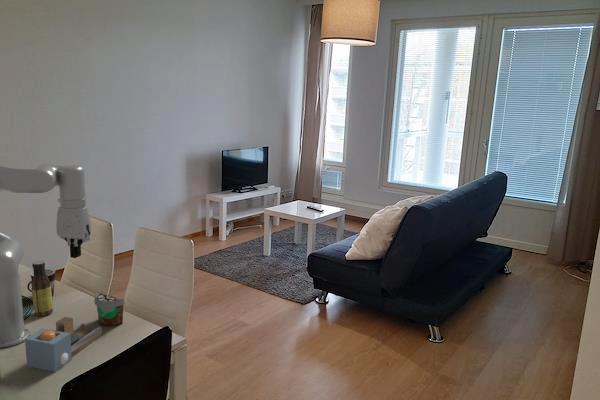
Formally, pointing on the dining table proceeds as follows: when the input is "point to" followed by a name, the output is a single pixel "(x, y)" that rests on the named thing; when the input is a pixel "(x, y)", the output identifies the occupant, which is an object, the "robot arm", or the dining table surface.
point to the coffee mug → (50, 276)
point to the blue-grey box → (48, 351)
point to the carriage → (67, 328)
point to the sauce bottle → (41, 290)
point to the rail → (84, 338)
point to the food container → (109, 310)
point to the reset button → (47, 335)
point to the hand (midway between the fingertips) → (75, 256)
